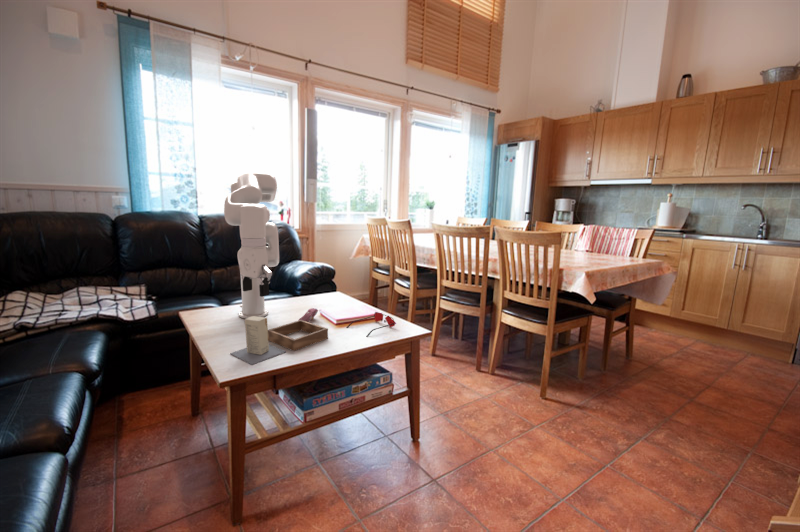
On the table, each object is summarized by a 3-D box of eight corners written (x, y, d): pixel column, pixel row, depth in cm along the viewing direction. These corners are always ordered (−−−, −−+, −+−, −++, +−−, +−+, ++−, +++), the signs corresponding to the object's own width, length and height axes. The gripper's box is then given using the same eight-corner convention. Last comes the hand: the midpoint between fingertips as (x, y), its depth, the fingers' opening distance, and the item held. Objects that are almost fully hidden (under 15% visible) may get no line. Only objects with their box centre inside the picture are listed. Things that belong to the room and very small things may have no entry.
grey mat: (230, 354, 125) (230, 353, 125) (263, 343, 135) (263, 342, 135) (252, 365, 117) (252, 363, 117) (285, 352, 128) (285, 351, 128)
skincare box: (269, 350, 128) (268, 317, 125) (260, 355, 124) (259, 321, 121) (254, 347, 130) (253, 315, 128) (245, 352, 126) (244, 318, 124)
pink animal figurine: (305, 328, 156) (312, 315, 155) (296, 322, 157) (303, 309, 155) (314, 321, 166) (321, 308, 164) (306, 316, 166) (312, 303, 165)
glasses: (396, 329, 156) (396, 317, 155) (366, 338, 144) (366, 326, 143) (375, 320, 166) (375, 310, 165) (345, 328, 154) (345, 317, 153)
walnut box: (267, 340, 138) (267, 330, 137) (301, 328, 151) (300, 319, 150) (294, 351, 129) (294, 340, 128) (327, 338, 142) (327, 328, 141)
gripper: (228, 241, 121) (231, 290, 125) (259, 246, 112) (261, 300, 115) (249, 239, 127) (251, 286, 131) (279, 244, 118) (281, 295, 121)
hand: (255, 293), depth 123 cm, fingers open, 9 cm apart
